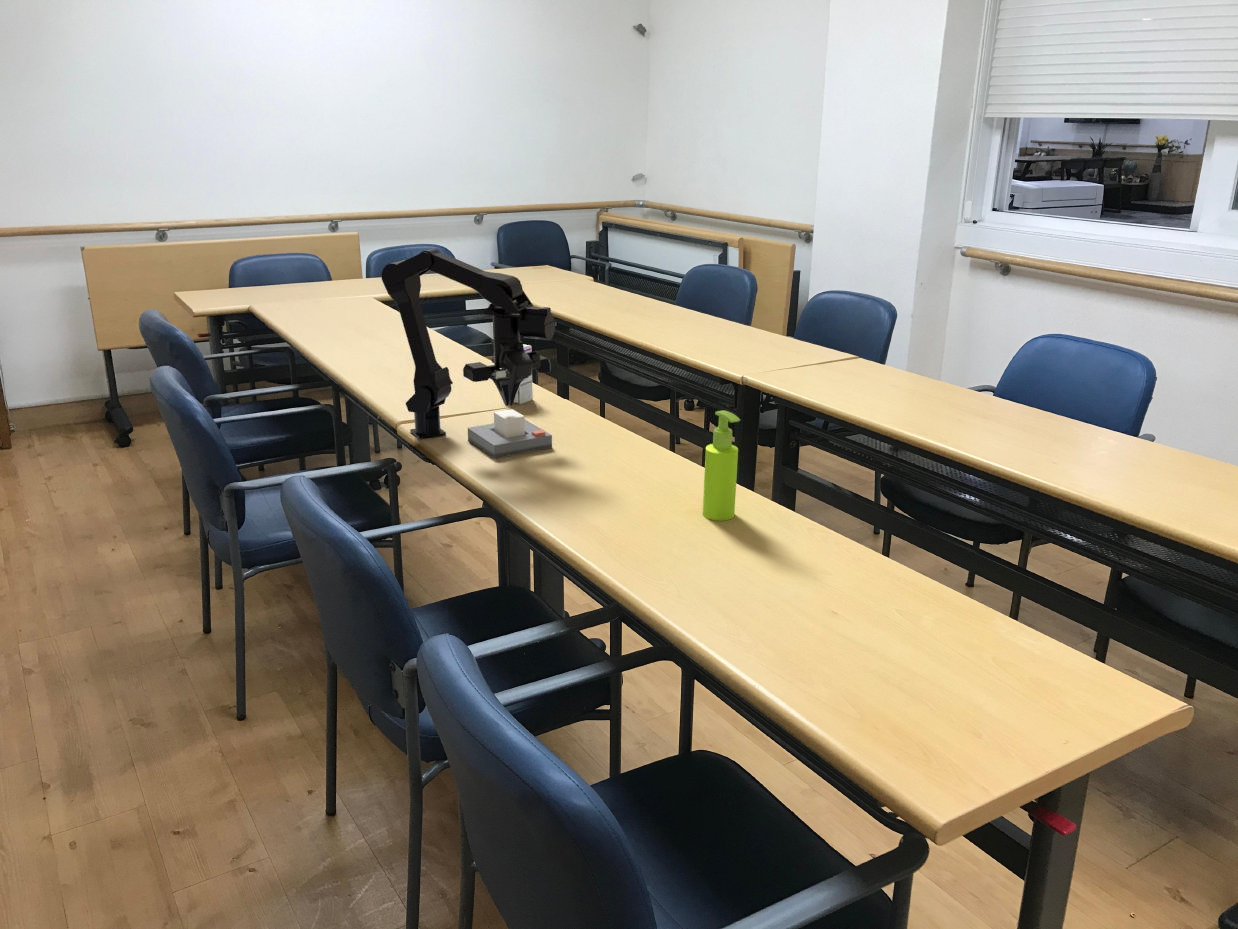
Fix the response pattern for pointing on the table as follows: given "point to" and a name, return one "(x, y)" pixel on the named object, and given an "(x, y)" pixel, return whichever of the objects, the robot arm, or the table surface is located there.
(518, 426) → the plug
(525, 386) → the syrup box
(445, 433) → the robot arm
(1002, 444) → the table surface
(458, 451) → the table surface
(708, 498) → the soap dispenser
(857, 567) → the table surface
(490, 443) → the socket
